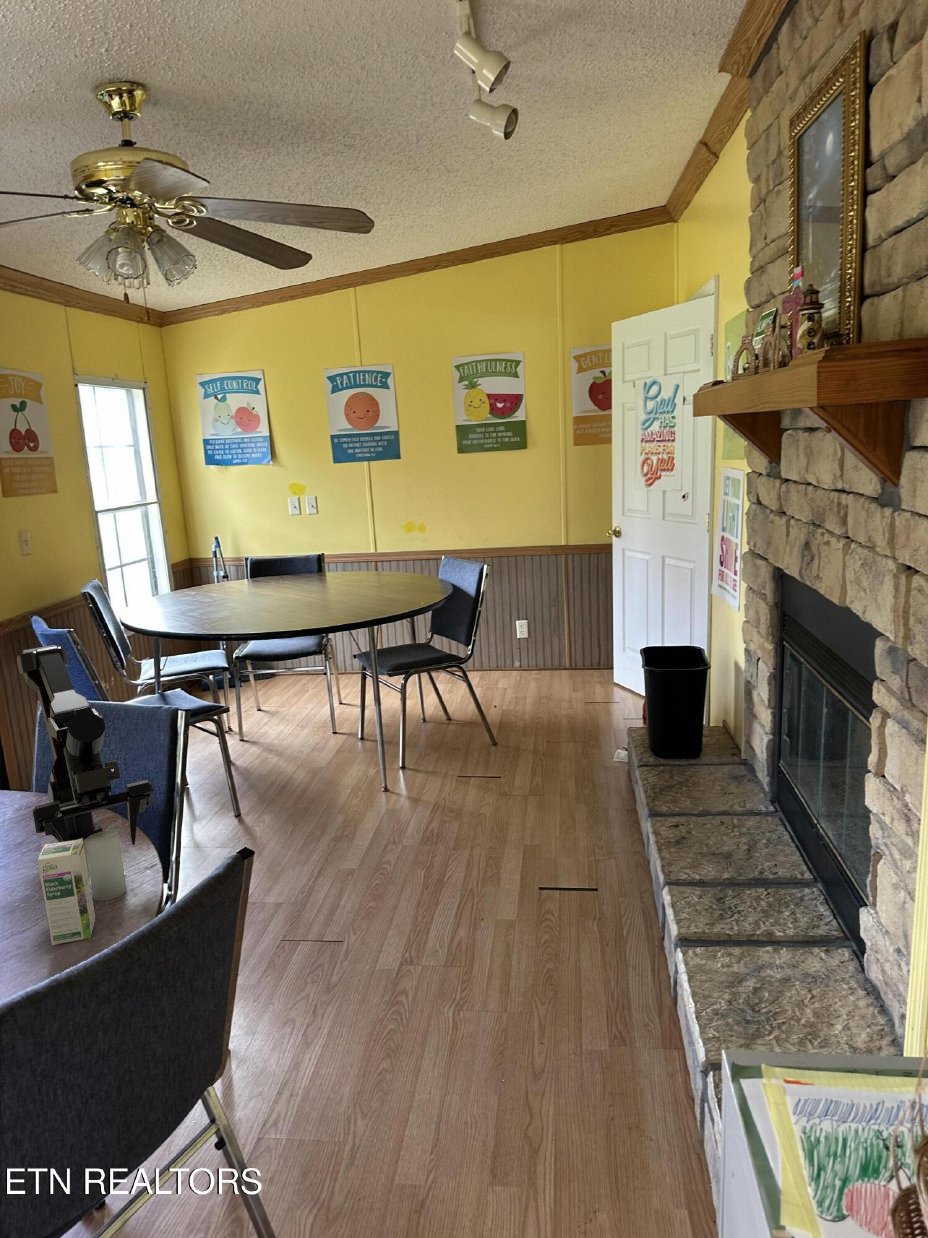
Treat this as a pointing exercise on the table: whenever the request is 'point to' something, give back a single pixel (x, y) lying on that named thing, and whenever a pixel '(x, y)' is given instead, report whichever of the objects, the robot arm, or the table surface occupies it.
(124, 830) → the table surface
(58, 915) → the syrup box
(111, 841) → the grey-green rounded cylinder
